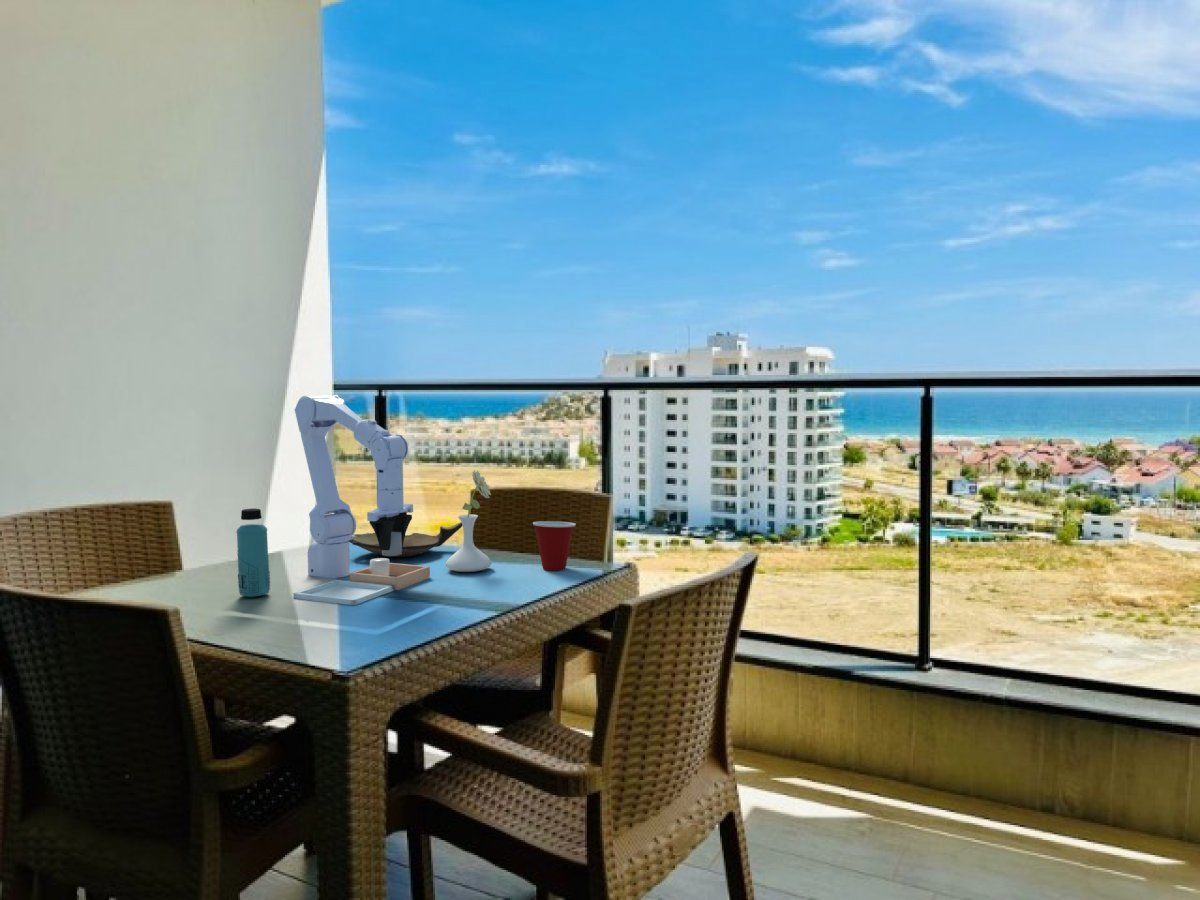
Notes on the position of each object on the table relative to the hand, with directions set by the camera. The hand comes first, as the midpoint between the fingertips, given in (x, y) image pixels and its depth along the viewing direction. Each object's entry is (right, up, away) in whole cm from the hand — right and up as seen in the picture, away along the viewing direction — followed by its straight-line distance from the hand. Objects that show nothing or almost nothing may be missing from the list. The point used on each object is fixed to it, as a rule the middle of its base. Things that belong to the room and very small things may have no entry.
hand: (391, 548), depth 203 cm
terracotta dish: (-1, -9, +5) cm, 10 cm away
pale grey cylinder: (-4, -8, +6) cm, 11 cm away
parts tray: (-9, -10, -8) cm, 15 cm away
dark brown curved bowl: (-5, -7, +40) cm, 41 cm away
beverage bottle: (-28, -10, -9) cm, 31 cm away
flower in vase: (+15, -8, +20) cm, 27 cm away
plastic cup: (+36, -8, +21) cm, 43 cm away
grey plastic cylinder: (0, -1, 0) cm, 1 cm away
